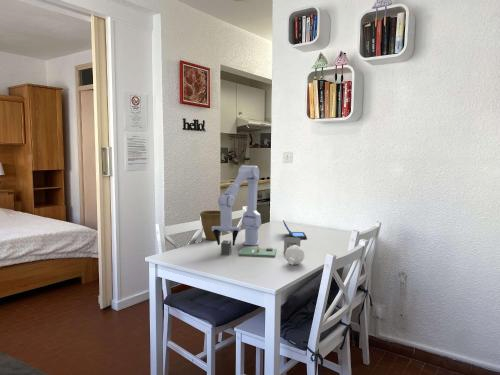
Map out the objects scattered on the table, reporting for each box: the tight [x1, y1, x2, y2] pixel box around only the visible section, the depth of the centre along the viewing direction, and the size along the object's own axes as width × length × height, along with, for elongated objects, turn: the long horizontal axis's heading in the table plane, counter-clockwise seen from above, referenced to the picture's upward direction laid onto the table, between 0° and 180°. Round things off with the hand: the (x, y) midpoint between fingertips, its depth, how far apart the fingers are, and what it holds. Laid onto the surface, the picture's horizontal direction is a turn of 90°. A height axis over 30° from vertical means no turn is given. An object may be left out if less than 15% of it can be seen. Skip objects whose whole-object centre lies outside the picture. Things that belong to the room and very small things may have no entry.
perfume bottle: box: [284, 245, 305, 265], centre depth 176 cm, size 9×9×12 cm
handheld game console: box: [282, 219, 308, 240], centre depth 233 cm, size 16×13×9 cm
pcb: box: [238, 245, 277, 258], centre depth 196 cm, size 12×18×4 cm, turn 82°
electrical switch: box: [283, 236, 302, 254], centre depth 196 cm, size 8×5×8 cm, turn 78°
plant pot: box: [199, 210, 223, 241], centre depth 226 cm, size 15×15×16 cm
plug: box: [220, 240, 232, 256], centre depth 195 cm, size 6×4×6 cm, turn 172°
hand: (226, 244), depth 195 cm, fingers open, 7 cm apart
